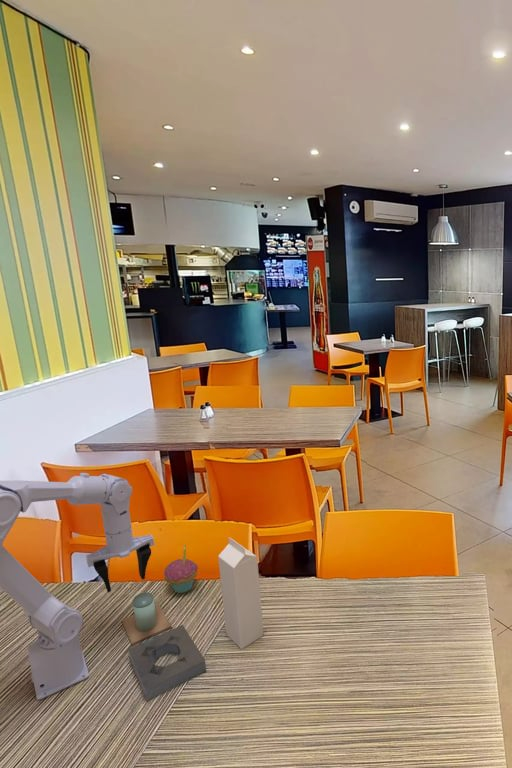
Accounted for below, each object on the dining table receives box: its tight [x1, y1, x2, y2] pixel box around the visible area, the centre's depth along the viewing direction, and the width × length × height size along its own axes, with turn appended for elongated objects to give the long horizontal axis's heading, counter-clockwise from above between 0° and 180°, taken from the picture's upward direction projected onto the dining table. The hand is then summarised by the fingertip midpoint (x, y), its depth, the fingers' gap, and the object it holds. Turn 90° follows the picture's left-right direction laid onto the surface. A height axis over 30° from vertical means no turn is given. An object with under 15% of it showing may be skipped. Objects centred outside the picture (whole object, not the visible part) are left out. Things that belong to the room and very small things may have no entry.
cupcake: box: [163, 544, 199, 594], centre depth 114 cm, size 9×8×12 cm
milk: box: [217, 537, 264, 650], centre depth 95 cm, size 6×6×22 cm
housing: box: [127, 624, 207, 702], centre depth 91 cm, size 12×12×2 cm
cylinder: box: [132, 592, 157, 632], centre depth 101 cm, size 5×5×6 cm
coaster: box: [120, 604, 173, 647], centre depth 103 cm, size 9×9×1 cm
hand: (125, 583), depth 102 cm, fingers open, 7 cm apart
